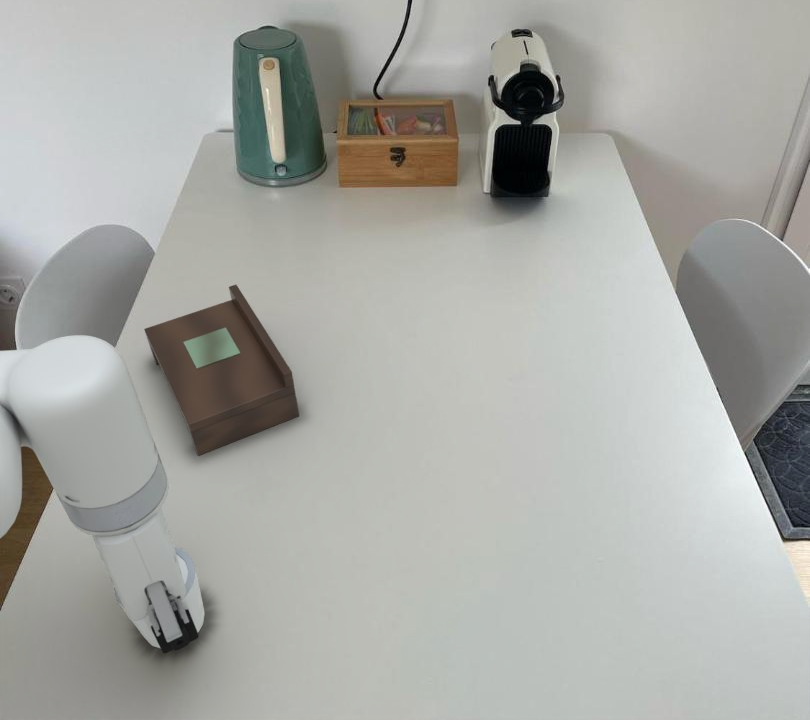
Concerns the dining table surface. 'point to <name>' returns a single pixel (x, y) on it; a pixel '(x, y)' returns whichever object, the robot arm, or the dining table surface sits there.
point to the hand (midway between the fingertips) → (168, 608)
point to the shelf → (224, 372)
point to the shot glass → (189, 602)
